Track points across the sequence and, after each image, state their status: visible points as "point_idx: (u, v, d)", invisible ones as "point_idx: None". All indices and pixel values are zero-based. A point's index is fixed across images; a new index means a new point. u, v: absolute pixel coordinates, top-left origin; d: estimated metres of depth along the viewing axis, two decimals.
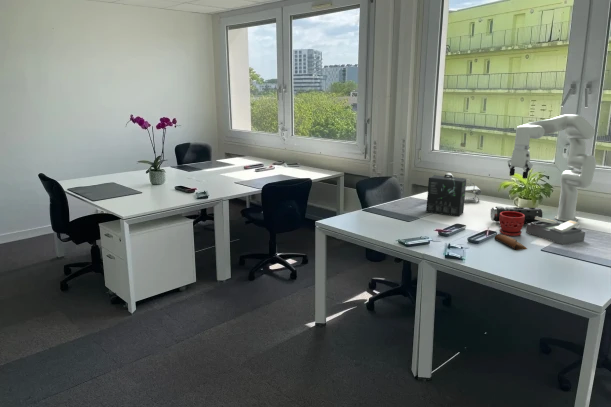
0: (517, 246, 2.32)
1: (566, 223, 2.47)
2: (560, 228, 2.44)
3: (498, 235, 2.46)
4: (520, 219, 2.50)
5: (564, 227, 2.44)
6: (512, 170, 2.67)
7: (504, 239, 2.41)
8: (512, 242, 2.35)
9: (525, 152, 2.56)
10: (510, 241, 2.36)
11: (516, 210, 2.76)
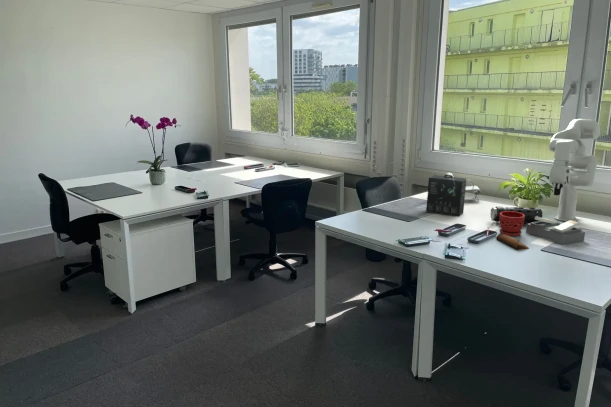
0: (519, 246, 2.32)
1: (566, 223, 2.47)
2: (560, 228, 2.44)
3: (500, 235, 2.47)
4: (520, 219, 2.50)
5: (564, 227, 2.44)
6: None
7: (506, 239, 2.41)
8: (514, 242, 2.35)
9: (565, 168, 2.48)
10: (512, 241, 2.36)
11: (516, 210, 2.76)
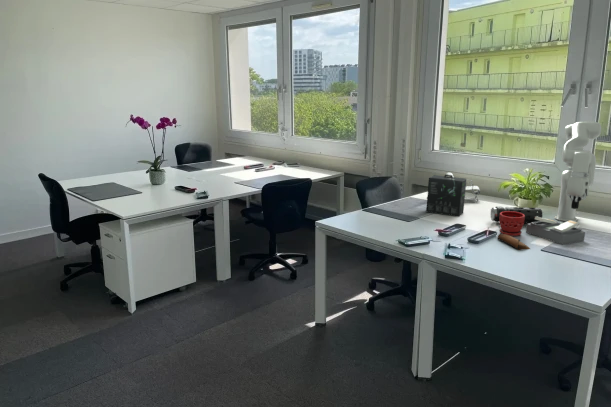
0: (520, 246, 2.32)
1: (566, 223, 2.47)
2: (560, 228, 2.44)
3: (501, 235, 2.47)
4: (520, 219, 2.50)
5: (564, 227, 2.44)
6: None
7: (507, 239, 2.41)
8: (515, 242, 2.35)
9: (584, 180, 2.37)
10: (513, 241, 2.36)
11: (516, 210, 2.76)
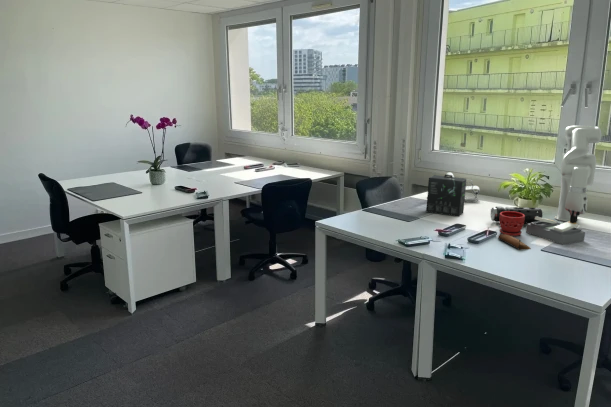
0: (521, 246, 2.32)
1: (566, 223, 2.47)
2: (560, 227, 2.44)
3: (502, 235, 2.47)
4: (520, 219, 2.50)
5: (564, 227, 2.44)
6: None
7: (508, 239, 2.41)
8: (516, 242, 2.35)
9: (583, 195, 2.39)
10: (514, 241, 2.36)
11: (516, 210, 2.76)
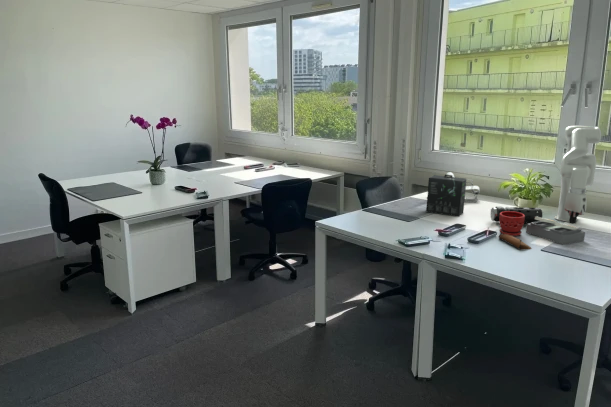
0: (521, 246, 2.32)
1: None
2: (561, 224, 2.44)
3: (502, 235, 2.47)
4: (520, 219, 2.50)
5: None
6: None
7: (508, 239, 2.41)
8: (516, 242, 2.35)
9: (582, 196, 2.39)
10: (514, 241, 2.36)
11: (516, 210, 2.76)
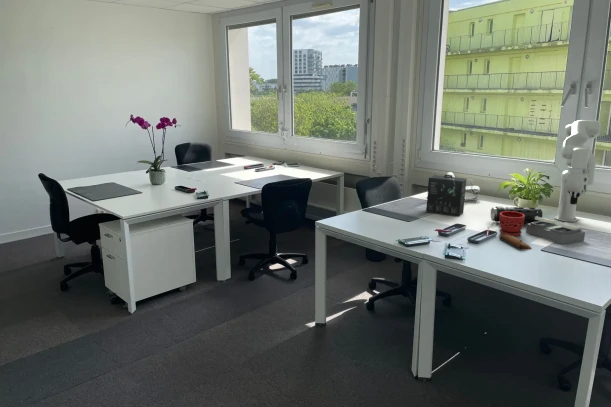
0: (521, 246, 2.32)
1: None
2: (561, 223, 2.44)
3: (503, 235, 2.47)
4: (520, 219, 2.50)
5: None
6: None
7: (509, 239, 2.41)
8: (517, 242, 2.35)
9: (583, 176, 2.39)
10: (515, 241, 2.37)
11: (516, 210, 2.76)
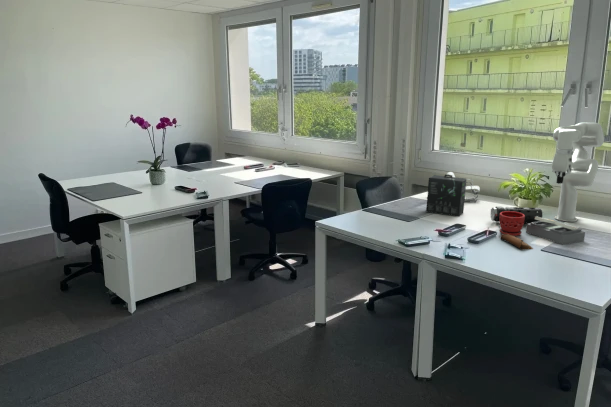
0: (522, 246, 2.32)
1: None
2: (561, 223, 2.44)
3: (504, 235, 2.47)
4: (520, 219, 2.50)
5: None
6: None
7: (510, 239, 2.41)
8: (517, 242, 2.35)
9: (568, 156, 2.56)
10: (516, 241, 2.37)
11: (516, 210, 2.76)
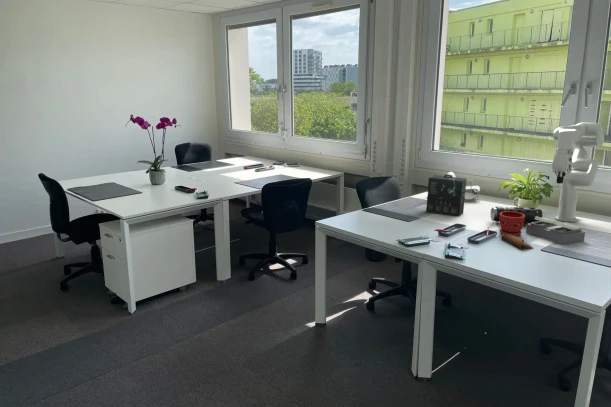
0: (523, 246, 2.32)
1: None
2: (561, 223, 2.44)
3: (505, 235, 2.47)
4: (520, 219, 2.50)
5: None
6: None
7: (511, 239, 2.41)
8: (518, 242, 2.35)
9: (568, 156, 2.56)
10: (516, 241, 2.37)
11: (516, 210, 2.76)
